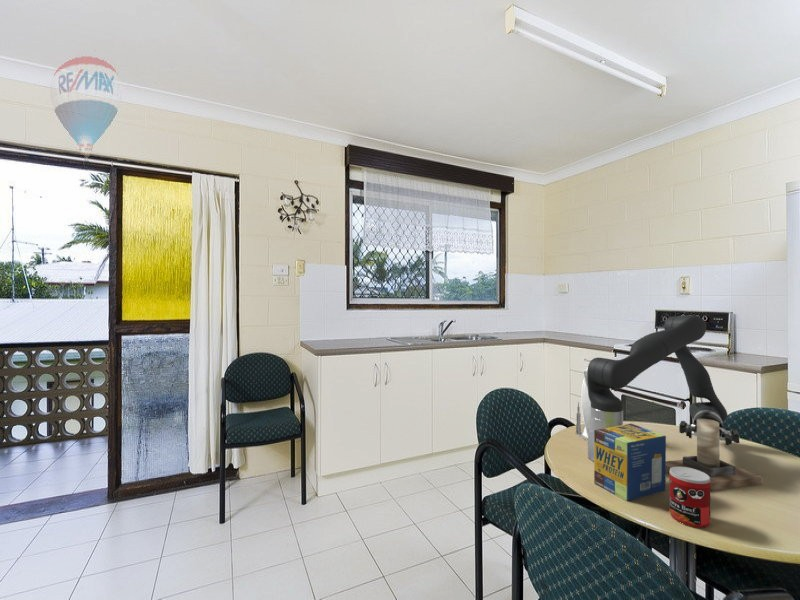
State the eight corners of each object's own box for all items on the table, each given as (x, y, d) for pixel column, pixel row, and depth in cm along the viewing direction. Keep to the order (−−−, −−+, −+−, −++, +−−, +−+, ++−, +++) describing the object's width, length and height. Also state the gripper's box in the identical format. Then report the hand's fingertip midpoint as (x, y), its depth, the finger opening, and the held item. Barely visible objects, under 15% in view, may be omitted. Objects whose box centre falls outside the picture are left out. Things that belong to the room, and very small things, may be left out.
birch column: (701, 471, 110) (701, 423, 110) (694, 463, 115) (693, 418, 115) (723, 473, 109) (722, 425, 109) (714, 465, 114) (714, 419, 114)
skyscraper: (595, 433, 148) (595, 362, 148) (608, 441, 140) (608, 366, 140) (575, 433, 148) (574, 362, 148) (586, 441, 140) (586, 366, 140)
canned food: (662, 514, 92) (662, 469, 92) (682, 507, 95) (682, 463, 95) (697, 532, 85) (697, 483, 85) (717, 523, 88) (717, 477, 88)
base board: (703, 491, 103) (703, 475, 103) (659, 468, 117) (659, 455, 117) (761, 484, 107) (761, 469, 107) (712, 462, 121) (712, 449, 121)
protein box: (593, 483, 108) (593, 429, 108) (631, 474, 113) (631, 423, 113) (627, 502, 98) (626, 442, 98) (667, 491, 104) (667, 434, 103)
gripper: (681, 408, 129) (678, 420, 116) (737, 416, 120) (740, 430, 107) (681, 430, 129) (678, 445, 116) (737, 440, 120) (740, 457, 107)
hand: (708, 438), depth 112 cm, fingers open, 8 cm apart
